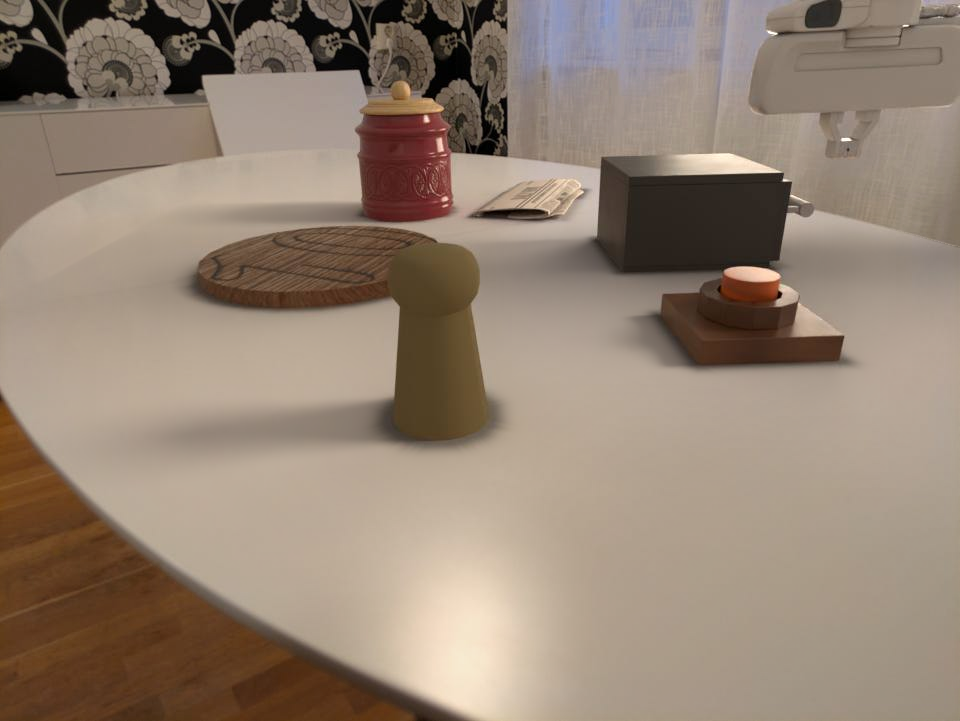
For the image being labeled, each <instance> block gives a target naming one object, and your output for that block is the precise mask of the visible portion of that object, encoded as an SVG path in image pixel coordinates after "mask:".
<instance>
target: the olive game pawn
mask: <svg viewBox="0 0 960 721" xmlns="http://www.w3.org/2000/svg"><path fill="white" fill-rule="evenodd" d="M387 281H388V288H389V291H390V293H391V295H390V296H391V298H392V299H393V301H394V302H395V303H396V304H397V305H398V307H399V314H398V327H397V328H398V330H397V346H396V347H397V348H396V362H395V380H394V396H393V413H392V422H393V424H394V427H395V428H396V429H397V430H398V431H399V432H401V433H402V434H403V435H406V436H408V437H411V438H414V439H417V440H422V441H423V440H424V441H431V442H437V441H439V442H440V441H451V440H456V439H460V438H465V437H467V436H469V435H472V434H474V433H477V432H478V431H479V430H481V429H482V428H483V427H485V425H487V422H488V421H489V419H490V414H489V413H490V412H489V405H488V399H487V392H486V387H485V381H484V374H483V369H482V363H481V358H480V357H481V356H480V351H479V345H478V338H477V334H476V327H475V321H474V315H473V309H472V303H473V301H474V300H475V299H476V297H477V295H478V293H479V289H480V285H481V272H480V267H479V263H478V259H477V258H476V257H475V255H474V254H473V252H472V251H471V250H469V249H468V248H467V247H465V246H463V245H459V244H455V243H449V242H438V243H423V244H417V245H412V246H409V247H406V248H403V249H402V250H400V251H399V252H397V253H396V254H394V256H393V258H392V260H391V262H390V264H389V268H388V274H387Z"/></svg>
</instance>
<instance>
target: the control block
mask: <svg viewBox="0 0 960 721" xmlns="http://www.w3.org/2000/svg"><path fill="white" fill-rule="evenodd" d="M721 284H722V277H721V278H720V277H719V278H716V279H712V280H707V281H705V282H704V283H703V284H702V285H701V286H700V288H699V290H698V292H677V293H662V294H661V302H660V304H661V305H660V313H659V316H660V317H661V319H662V320H663V321H664V323H665V324H666V325H667V327H669V329H670V330H671V331H672V332H673V334H674V335H675V337H676V339H678V340H679V342H680V343H681V344H682V346H684V348H685V350H686V351H687V352H688V353H689V355H690V356H691V357H692V358H693V360H694V361H695V362H696V363H697V365H698V366H718V365H719V366H720V365H721V366H722V365H751V364H780V363H781V364H783V363H786V364H787V363H811V362H812V363H814V362H815V363H816V362H839V361H840V360H841V359H840V358H841V354H842V349H843V345H844V340H845V335H844V334H843V333H842V332H840V331H839V330H838V329H836V328H835V327H833V326H832V325H830V324H829V323H828V322H826V321H825V320H824V319H823V318H821V317H819V315H817V314H815V313H814V312H812V311H811V310H810V309H808V308H807V307H806V306H805V305H803V304H802V303H800V296H801V295H800V293H799V292H798V291H796V290H794V289H793V288H792V287H790V286H788V285H785V284H782V283H780V284H779V290H778V295H777V299H776V300H773V301H769V302H750V301H742V300H735V299H731V298H728V297H725V296H722V295H721V294H720V291H721Z"/></svg>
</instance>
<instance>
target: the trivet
mask: <svg viewBox="0 0 960 721" xmlns="http://www.w3.org/2000/svg"><path fill="white" fill-rule="evenodd" d="M423 243H439V241H438V240H436V238H434V237H432V236H429V235H427V234H424V233H422V232H418V231H414V230H413V231H412V230H410V229H409V230H408V229H405V228H396V227H387V226H378V225H377V226H373V225H334V226H333V225H332V226H331V225H329V226H319V227H318V226H317V227H306V228H305V227H304V228H297V229H291V230H284V231H277V232H270V233H265V234H261V235H257V236H253V237H248V238H244V239H242V240H237V241H235V242H232V243H229V244H226V245H224V246H221V247H219V248H217V249H215V250H213V251H211V252H209V253H208V254H206V255H205V256H204V257H202V258H201V259H200V260H199V261H198V266H197V268H196V272H197V277H198V283H199V286H200V287H201V288H202V290H203V291H204V292H205V293H206V294H207V295H209V296H211V297H213V298H215V299H218V300H220V301H223V302H227V303H231V304H236V305H241V306H246V307H247V306H248V307H255V308H257V307H259V308H274V309H305V308H322V307H323V308H324V307H331V306H333V307H334V306H340V305H341V306H342V305H347V304H348V305H349V304H350V305H351V304H356V303H361V302H367V301H373V300H376V299H381V298H386V297H390V296H391V293H390V291H389V288H388V281H387V274H388V268H389V264H390V262H391V260H392V258H393V256H394V254H396V253H397V252H399V251H400V250H402V249H403V248H406V247H409V246H412V245H417V244H423Z"/></svg>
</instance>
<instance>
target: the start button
mask: <svg viewBox="0 0 960 721" xmlns="http://www.w3.org/2000/svg"><path fill="white" fill-rule="evenodd" d="M721 278H722V284H721V291H720V294H721V295H722V296H725V297H728V298H731V299H735V300H742V301H750V302H769V301H773V300H776V299H777V295H778V290H779V284H781V283H780V282H781V278H782V277H781V275H780V273H778V272H776V271H774V270H771V269H769V268H767V269H764V268H758V267H745V266H744V267H732V268H728V269H726V270H723V272H722V277H721Z"/></svg>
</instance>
